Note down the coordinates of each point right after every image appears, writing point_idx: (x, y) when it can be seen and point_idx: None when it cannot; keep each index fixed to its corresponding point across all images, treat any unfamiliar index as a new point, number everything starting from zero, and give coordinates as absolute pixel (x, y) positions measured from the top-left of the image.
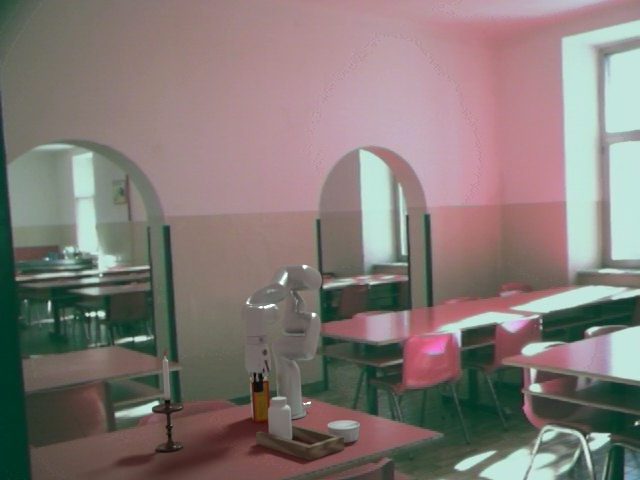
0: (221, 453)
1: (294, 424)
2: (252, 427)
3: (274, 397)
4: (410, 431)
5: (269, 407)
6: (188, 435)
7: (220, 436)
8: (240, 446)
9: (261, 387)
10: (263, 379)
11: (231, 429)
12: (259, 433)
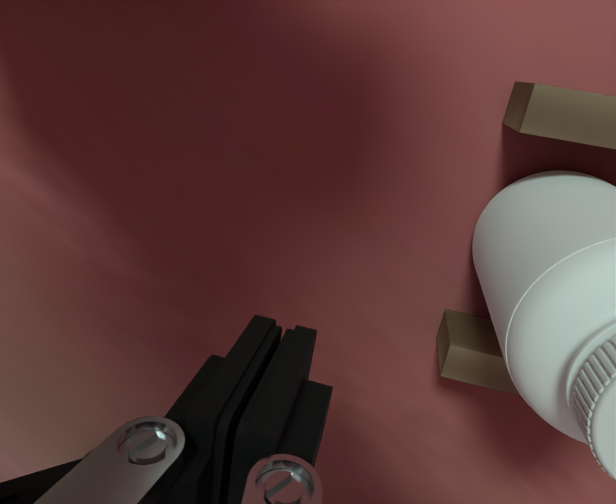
0: (370, 487)
1: (606, 99)
2: (159, 79)
3: (612, 415)
4: None
5: (551, 415)
6: (24, 342)
7: (156, 300)
8: (377, 389)
9: (324, 419)
10: (319, 496)
11: (94, 176)
12: (474, 382)
